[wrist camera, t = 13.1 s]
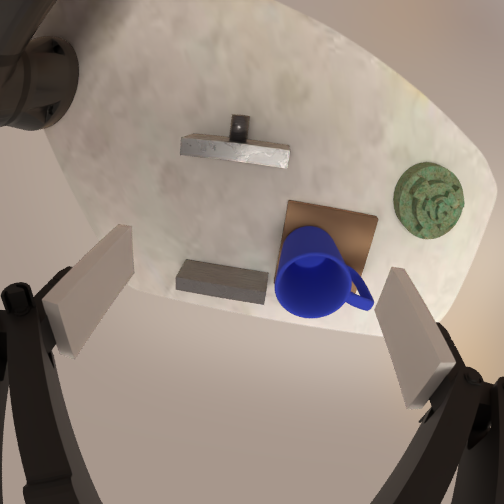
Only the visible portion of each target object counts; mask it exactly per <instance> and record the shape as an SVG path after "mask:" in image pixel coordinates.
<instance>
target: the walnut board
mask: <svg viewBox="0 0 504 504" xmlns="http://www.w3.org/2000/svg"><path fill="white" fill-rule="evenodd" d="M377 222H378V218H377V216H373V215H368V214H363V213H357V212H352V211H347V210H342V209H337V208H331V207H326V206H320V205H314V204H309V203H303V202H297V201H291V200H289V201H288V207H287V212H286V218H285V224H284V229H283V235H282V240H281V246H280V251H279V257H278V262H277V267H276V273H275V278H274V284H275V279H276V275H277V270H278V265H279V261H280V256H281V251H282V247H283V243H284V241H285V239H286V238H287V236H288V235H289V234H290V233H291V232H293V231H294V230H296V229H298V228H300V227H304V226H314V227H318V228H321V229H323V230H324V231H326V232H327V233H328V234H329V235H330V236H331V238H332V239H333V241H334V243H335V244H336V246H337V248H338V250H339V252H340V254H341V256H342V258H343V260H344V262H345V264H346V265H348V266H350V267H351V268H353V269H354V270H355V271H356V272H357V273H358V274H359V275H360V276H361V275H362V272H363V269H364V266H365V262H366V259H367V256H368V253H369V249H370V246H371V243H372V239H373V236H374V233H375V229H376V226H377ZM356 290H357V288H356V286H355V285H354V283H353V282H352V287H351V292H353V293H356Z"/></svg>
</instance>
